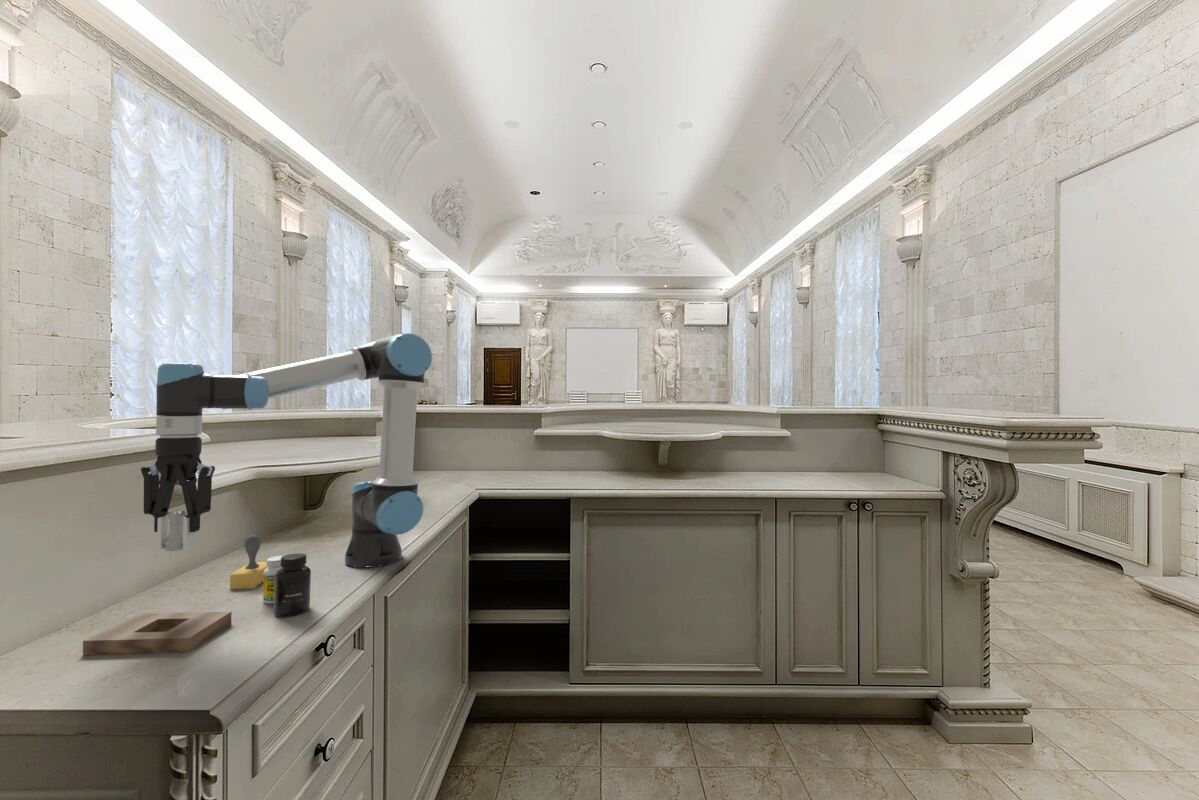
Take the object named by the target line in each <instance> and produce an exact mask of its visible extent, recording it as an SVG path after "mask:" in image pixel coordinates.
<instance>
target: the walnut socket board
mask: <svg viewBox="0 0 1199 800" xmlns="http://www.w3.org/2000/svg"><path fill="white" fill-rule="evenodd" d="M230 625H232V611H206V612H204V611H200V612H196V611H195V612H157V613H156V612H155V613H153V612H152V613H149V612H148V613H137V614H135V615H133V616H131V617H128V618H127V619H125V620H122V621H121V622H118V623H117V624H114V625H112V626H110V627H108V628H106V629H104V630H102V631H101V632H99V633H96V634H94V635H92V636H90V637H88V638H86V639H84V640H82V655H83V654H95V655H118V654H119V655H123V654H128V655H129V654H131V655H132V654H157V653H158V654H161V653H163V654H164V653H188V652H190V651H192V650H194V649H195V648H196V647H198V646H200V645H201V644H203V643H204V642H206V641H208V640H209V639H210V638H212V637H214V636H215V635H216V634H218V633H220V632H221V631H222V630H224V629H226V628H227V627H229V626H230Z"/></svg>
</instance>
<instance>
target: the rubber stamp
mask: <svg viewBox="0 0 1199 800" xmlns="http://www.w3.org/2000/svg"><path fill="white" fill-rule="evenodd" d="M261 544H262V543H261V537H260V536H259V535H257V534H251V535H248V536H247V537H246V538H245V540H244V549H245V552H246V554H247V556H248V561H249V562H248V563H246V564H245V565H244V566H242V567H240V568H239V569H237V570H236V571H234V572H232V573H231V574H230V575H229V589H230V590H238V589H239V590H241V589H255V588H257V587H258V586H259V585H260V584H262V583H263V572H264V570H265V569H266V568H268V566H267V561H256V557H257V555H258V552H259V550H260V547H261Z"/></svg>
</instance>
